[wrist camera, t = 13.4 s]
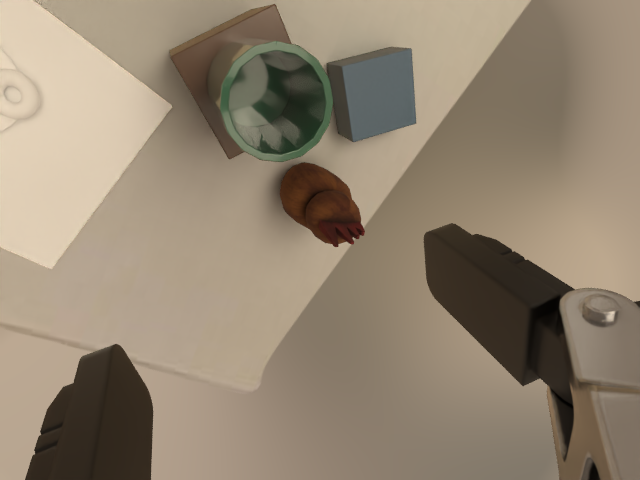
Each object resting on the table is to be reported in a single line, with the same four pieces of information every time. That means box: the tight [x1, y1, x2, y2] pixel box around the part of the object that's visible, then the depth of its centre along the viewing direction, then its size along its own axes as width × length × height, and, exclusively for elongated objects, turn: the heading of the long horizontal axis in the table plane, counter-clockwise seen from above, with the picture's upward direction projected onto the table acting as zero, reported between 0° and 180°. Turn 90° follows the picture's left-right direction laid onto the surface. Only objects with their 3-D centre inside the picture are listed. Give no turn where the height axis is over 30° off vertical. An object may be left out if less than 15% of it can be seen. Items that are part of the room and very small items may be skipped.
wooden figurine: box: [280, 162, 365, 247], centre depth 38 cm, size 7×6×15 cm
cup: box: [207, 38, 333, 162], centre depth 26 cm, size 6×6×8 cm
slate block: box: [327, 47, 416, 142], centre depth 40 cm, size 7×7×4 cm
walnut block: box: [170, 4, 291, 159], centre depth 33 cm, size 8×8×9 cm
